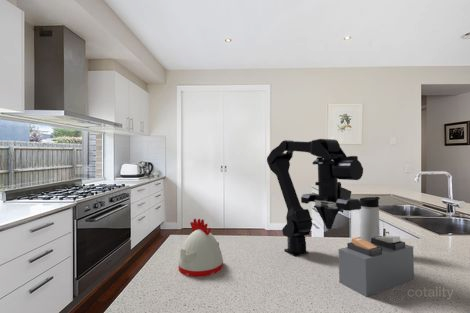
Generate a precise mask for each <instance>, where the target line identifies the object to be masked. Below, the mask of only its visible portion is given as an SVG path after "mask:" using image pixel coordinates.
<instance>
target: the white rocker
mask: <svg viewBox="0 0 470 313" xmlns="http://www.w3.org/2000/svg"><path fill="white" fill-rule="evenodd" d="M380 236H381V237H376V238H375V239H378V240H382V241H385V242H388V243H395V242H399V241H401V238H400V236H387V235H385V236H383V235H380Z"/></svg>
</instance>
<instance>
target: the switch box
mask: <svg viewBox="0 0 470 313" xmlns="http://www.w3.org/2000/svg"><path fill="white" fill-rule="evenodd" d="M381 236H382V235H380V236H378V237H381ZM375 238H376V237H373V238H371V242H370V243H372V244H373V245H375V246H377V249H372V250H368V249H365V248H362V247H359V246H356V245H355V244H353V243H351V242H352V241H350V242H347V244H346V247H341V248H338V276H339V279H338V282H339V283H340V284H342V285H343V286H345V287H347V288H349V289H350V290H352V291H354V292H357V293H359V294H361V295H363V296H364V297H369V295H370V296H372V295H376V294H378V293H380V292H382V291H385V290H389V289H391V288H394V287H396V286H400V285H402V284H405V283H408V282H410V281H413V280H415V264H414V262H415V261H414V260H415V259H414V246H412V245H409V244H406V241H399V242H395V243H388V242H385V241H382V240H378V239H375Z"/></svg>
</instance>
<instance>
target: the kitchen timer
mask: <svg viewBox="0 0 470 313" xmlns="http://www.w3.org/2000/svg"><path fill="white" fill-rule="evenodd" d="M189 224H190V226H191V229H192V232H191V233H189V235H188V237H187V238H186V239H185V241H184V243H183V244H182V247H181V249H180V250H179V252H180V253H179V257H178V271H179V272H180V273H181V274H182V275H183V276H187V277H193V278H195V277H196V278H197V277H198V278H200V277H201V278H203V277H208V276H212V275H214V274H217V273H219V272H221V270H223V266H224V260H223V254H222V251H221V250H222V249H221V248H220V242H219V241H217V238H215V236H214V235H213V234H212V233H211V230H212V228H211V227H209V228H208V223H205V219H201V218H198V219H196V218H193V221H190V223H189Z"/></svg>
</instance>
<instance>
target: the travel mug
mask: <svg viewBox="0 0 470 313" xmlns="http://www.w3.org/2000/svg"><path fill="white" fill-rule="evenodd" d="M358 200H359V201H360V202H361V209H358V210H359V237H361V238H363V239H365V240H366V241H368V242H371V238H373V237H378V236H381V234H380V206H379V200H380V197H379V196H375V197H374V196H369V197H368V196H367V197H360V198H359V199H358Z"/></svg>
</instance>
